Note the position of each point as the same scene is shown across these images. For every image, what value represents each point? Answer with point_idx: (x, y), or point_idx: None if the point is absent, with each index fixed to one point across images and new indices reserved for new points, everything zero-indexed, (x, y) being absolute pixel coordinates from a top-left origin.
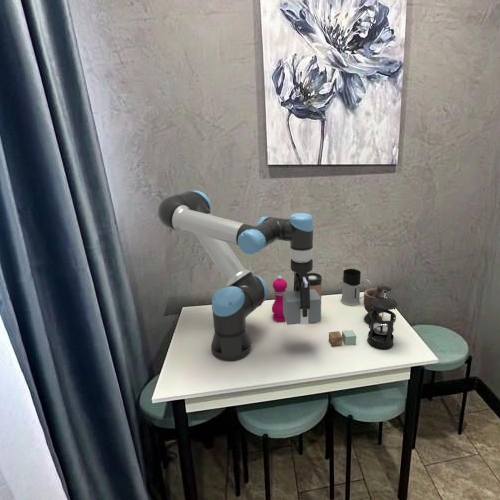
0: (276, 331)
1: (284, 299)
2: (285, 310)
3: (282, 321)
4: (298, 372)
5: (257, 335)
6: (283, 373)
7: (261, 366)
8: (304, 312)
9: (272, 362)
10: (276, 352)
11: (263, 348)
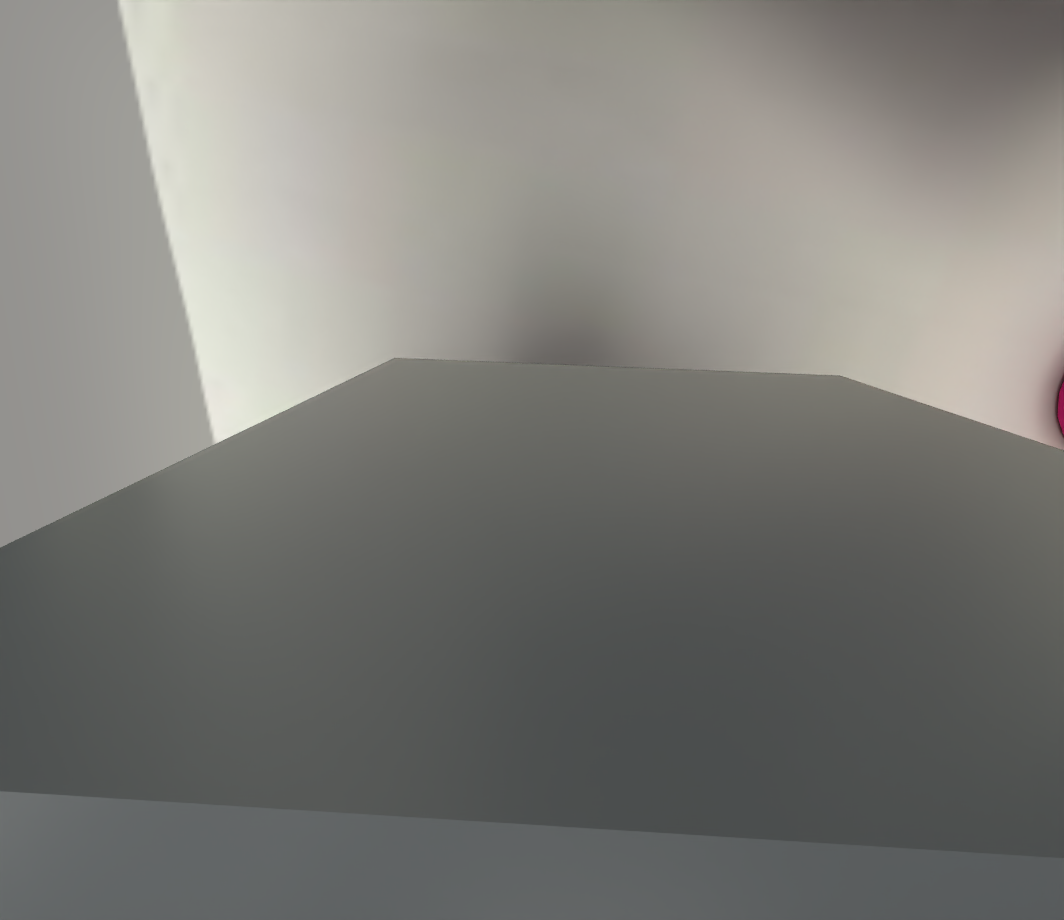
0: (902, 292)
1: (902, 592)
2: (554, 416)
3: (1059, 395)
4: (250, 354)
5: (908, 46)
6: (240, 221)
7: (348, 9)
8: None
9: (399, 144)
10: (545, 217)
11: (640, 83)
